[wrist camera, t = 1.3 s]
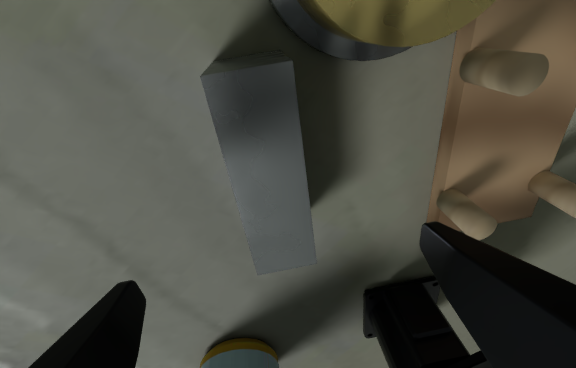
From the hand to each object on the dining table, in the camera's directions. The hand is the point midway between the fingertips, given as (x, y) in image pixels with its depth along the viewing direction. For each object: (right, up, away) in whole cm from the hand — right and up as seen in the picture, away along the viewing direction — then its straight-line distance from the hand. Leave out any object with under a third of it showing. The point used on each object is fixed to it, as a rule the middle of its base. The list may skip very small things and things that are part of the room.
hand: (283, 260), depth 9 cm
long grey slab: (-1, +4, +7) cm, 9 cm away
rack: (+13, +6, +8) cm, 16 cm away
